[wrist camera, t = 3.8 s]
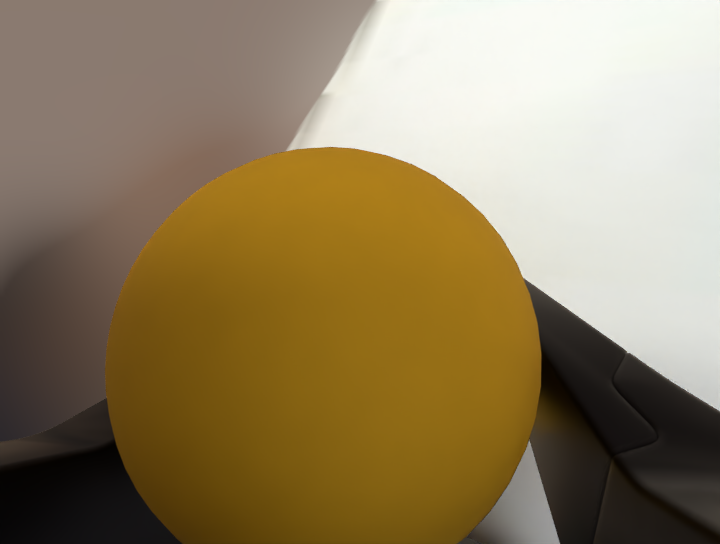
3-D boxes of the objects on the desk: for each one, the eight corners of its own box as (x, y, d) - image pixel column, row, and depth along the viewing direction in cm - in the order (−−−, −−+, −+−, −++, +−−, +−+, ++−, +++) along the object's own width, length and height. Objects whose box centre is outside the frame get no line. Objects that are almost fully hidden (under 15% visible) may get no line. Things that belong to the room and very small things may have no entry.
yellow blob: (479, 454, 14) (586, 1542, 1) (343, 399, 16) (-176, 554, 3) (516, 308, 14) (818, -38, 2) (382, 273, 16) (99, -9, 4)
